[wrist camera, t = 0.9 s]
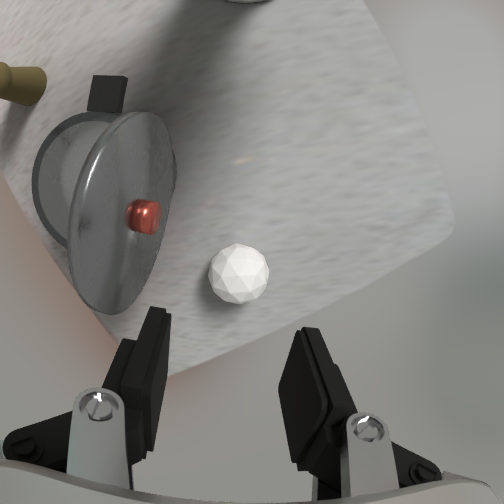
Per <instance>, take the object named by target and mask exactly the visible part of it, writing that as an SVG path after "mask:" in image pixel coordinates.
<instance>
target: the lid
mask: <svg viewBox="0 0 504 504" xmlns="http://www.w3.org/2000/svg"><path fill="white" fill-rule="evenodd" d="M172 179H173V156H172V147H171V141H170V136H169V133H168V130H167V128H166V126H165V124H164V122H163V121H162V120H161V118H160V117H158V116H157V115H156V114H153V113H149V112H129V113H126V114H124V115H122V116H120V117H118V118H117V119H116V120H114V121H113V122H112V123H111V124H110V125H109V126H108V127H107V128H106V129H105V130H104V131H103V132H102V133H101V135H100V136H99V138H98V139H97V140H96V142H95V143H94V145H93V147H92V148H91V150H90V152H89V154H88V156H87V157H86V160H85V162H84V164H83V166H82V169H81V171H80V174H79V177H78V180H77V183H76V186H75V189H74V193H73V197H72V202H71V206H70V213H69V220H68V233H67V249H68V261H69V267H70V273H71V276H72V280H73V283H74V286H75V288H76V290H77V293H78V295H79V296H80V298H81V299H82V301H83V302H84V303H85V304H86V305H87V306H88V307H89V308H91V309H93V310H95V311H98V312H101V313H104V314H108V315H115V314H118V313H121V312H123V311H124V310H125V309H127V308H128V307H129V306H130V305H131V304H132V303H133V302H134V300H135V299H136V298H137V297H138V295H139V294H140V292H141V290H142V289H143V287H144V285H145V283H146V281H147V279H148V277H149V275H150V273H151V270H152V268H153V266H154V263H155V260H156V258H157V255H158V252H159V248H160V245H161V242H162V238H163V234H164V230H165V226H166V222H167V217H168V211H169V206H170V199H171V191H172Z"/></svg>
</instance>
